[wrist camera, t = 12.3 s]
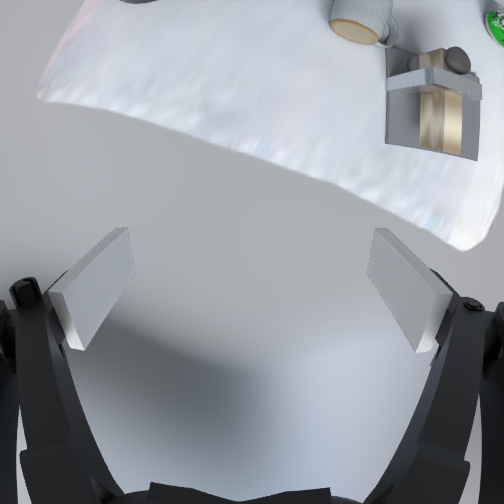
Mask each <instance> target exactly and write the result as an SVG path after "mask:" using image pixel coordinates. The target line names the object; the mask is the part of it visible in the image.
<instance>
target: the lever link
mask: <svg viewBox="0 0 504 504" xmlns="http://www.w3.org/2000/svg"><path fill="white" fill-rule="evenodd" d="M419 65H420V69H424V68H428V67H433V66H434V67H437V68H440V69H443V70H446V71H449V72H452V73H454V74H457V75H459V76H461V75H465V74H468V73H469V71H470V69H471V63H470V60H469V57H468V55H467V54H466V53H465V51H464V50H462V49H461V48H459V47H451V48H449V49H447V50H446V49H443V48H440V49H437V50H433V51H430V52H427V53H424V54H420V55H419ZM420 97H421V106H420V139H419V146H421V147H426V148H430V149H435V150H439V151H443V152H448V153H453V154H457V155H460V151H461V135H462V96H460V95H457V94H454V93H451V92H448V91H433V92H422V93H420Z"/></svg>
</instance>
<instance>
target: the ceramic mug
mask: <svg viewBox="0 0 504 504" xmlns="http://www.w3.org/2000/svg"><path fill="white" fill-rule="evenodd" d="M392 6H393V0H334V4H333V7H332V10H331V13H330V17H329V26H330V28H331V29H332V30H333V31H334V32H335V33H336V34H337V35H339V36H341V37H343V38H344V39H347V40H349V41H352V42H355V43H359V44H364V45H372V44H374V45H375V46H378V47H382V48H389V47H392V46H394V44H395V43H396V41H397V39H398V28H397V25H396V23H395V21H394V19H393V18H392V17H391V15H390V12H391V9H392ZM386 22H387V23H388V25H389V28H390V35H389V38H388V40H387V41H386V44H382V43H380V42H379V40H380V38H381V36H382V35H383V32H384V29H385V25H386Z"/></svg>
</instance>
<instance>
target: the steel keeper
mask: <svg viewBox="0 0 504 504" xmlns="http://www.w3.org/2000/svg"><path fill="white" fill-rule="evenodd" d="M386 91H394V92H399V93H403V94H413V93H422V92H433V91H448V92H451V93H454V94H457V95H460V96H463V97H466V98H468V99H471V100H482V85H481V84H479V83H476V82H474V81H472V80H469V79H467V78H465V77H462V76H459V75H457V74H454V73H452V72H449V71H446V70H443V69H440V68H437V67H434V66H433V67H428V68H424V69H420V70H415V71H411V72H408V73H404V74H400V75H396V76H393V77H389V78H386Z"/></svg>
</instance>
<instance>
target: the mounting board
mask: <svg viewBox="0 0 504 504" xmlns="http://www.w3.org/2000/svg"><path fill="white" fill-rule="evenodd" d="M385 51H386V78H389V77H393V76H396V75H400V74H404V73H408V72H411V71H415V70H420V65H419V55H416V54H413V53H409V52H406V51H402V50H398V49H395V48H391V47H389V48H385ZM461 76H462V77H465V78H467V79H469V80H472V81H474V82H476V83H479V84H480V82H479V78H478V77H476V76H474V75H471V74H469V73H468V74H465V75H461ZM420 106H421V97H420V93H413V94H403V93H399V92H394V91H387V110H386V138H385V144H391V145H398V146H405V147H411V148H417V149H423V150H428V151H433V152H439V153H443V154H448V155H453V156H457V157H462V158H466V159H470V160H474V161H477V159H478V147H479V131H480V100H471V99H468V98H466V97H463V96H462V135H461V151H460V155H457V154H453V153H448V152H443V151H439V150H435V149H430V148H426V147H421V146H419V139H420Z"/></svg>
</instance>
